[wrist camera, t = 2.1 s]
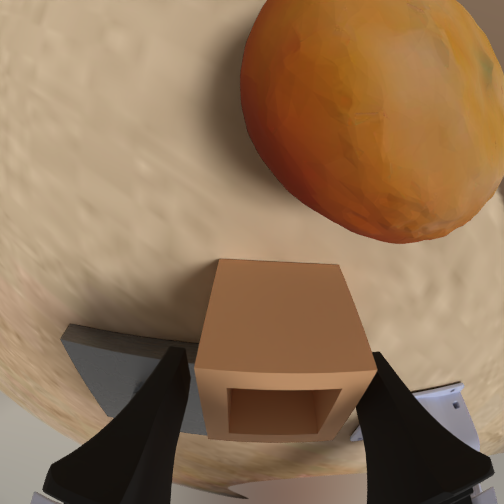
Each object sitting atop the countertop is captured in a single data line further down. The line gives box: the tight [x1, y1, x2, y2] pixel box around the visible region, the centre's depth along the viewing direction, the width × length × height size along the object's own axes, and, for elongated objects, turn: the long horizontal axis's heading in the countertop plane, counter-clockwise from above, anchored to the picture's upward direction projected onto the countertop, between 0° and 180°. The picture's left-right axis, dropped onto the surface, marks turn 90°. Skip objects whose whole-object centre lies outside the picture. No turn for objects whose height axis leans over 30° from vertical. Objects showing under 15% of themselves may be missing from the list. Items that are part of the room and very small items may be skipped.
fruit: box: [240, 0, 504, 244], centre depth 7 cm, size 8×8×8 cm
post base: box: [60, 324, 208, 436], centre depth 15 cm, size 10×10×6 cm
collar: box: [194, 259, 378, 443], centre depth 11 cm, size 5×5×6 cm
